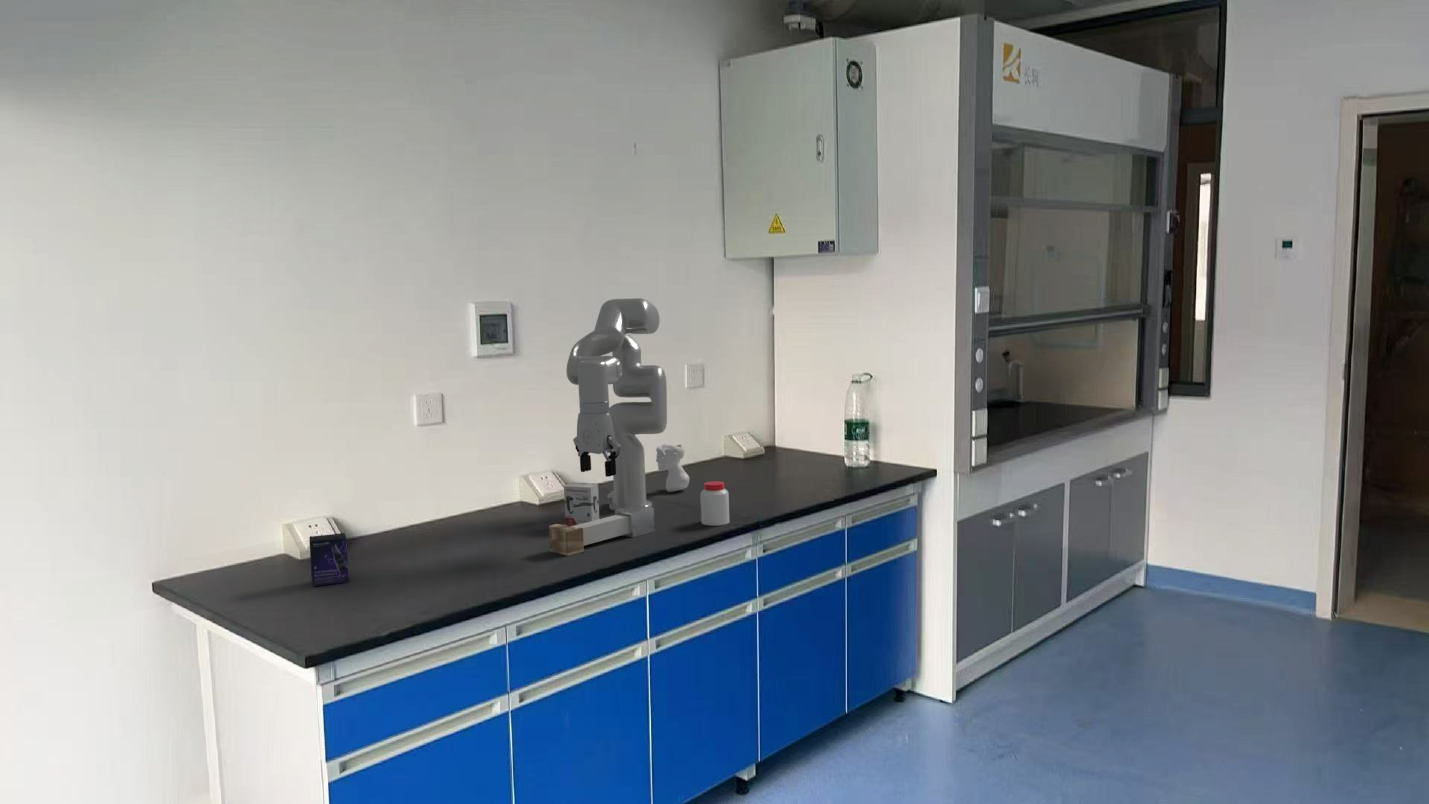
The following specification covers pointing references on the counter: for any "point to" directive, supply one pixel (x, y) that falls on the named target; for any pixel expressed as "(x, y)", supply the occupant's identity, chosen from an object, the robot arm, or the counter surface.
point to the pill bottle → (714, 504)
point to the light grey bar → (605, 528)
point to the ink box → (581, 503)
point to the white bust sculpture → (672, 466)
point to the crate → (566, 539)
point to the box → (328, 559)
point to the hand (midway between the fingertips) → (598, 473)
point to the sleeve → (639, 519)
